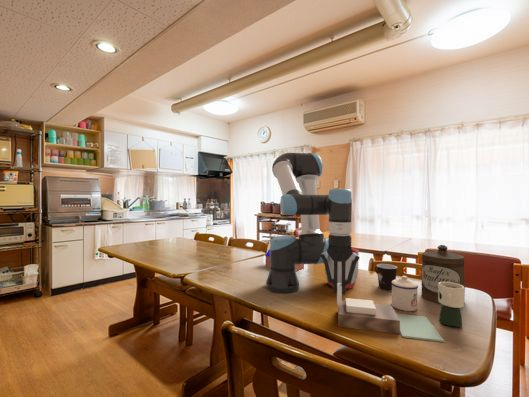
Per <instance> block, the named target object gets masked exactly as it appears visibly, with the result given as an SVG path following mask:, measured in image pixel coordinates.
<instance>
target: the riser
mask: <svg viewBox="0 0 529 397" xmlns="http://www.w3.org/2000/svg"><path fill="white" fill-rule="evenodd" d="M374 305H375V307H376V315H372V314H362V313H353V312H346V300H342V305H337V318H338V319H337V322H338V327H339V328H347V329H348V328H349V329H357V330H363V331H374V332H382V333H389V334H399V335H401V333H400V320H399V318H398V316H397V314H398V313H396V311H395V309H394V307H393V306H392V304H391V305H389V304H381V303H374Z"/></svg>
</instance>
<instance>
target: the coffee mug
mask: <svg viewBox="0 0 529 397" xmlns="http://www.w3.org/2000/svg"><path fill="white" fill-rule="evenodd" d="M374 269H375V273H376V274H377V280H378V281H377V282H378V288H379V289H380V290H383V291H387V292H388V291H390V292H392V284H391V282H392V281H393V280H395V279H397V273H398V272H397V271H398V266H396V265H394V264H388V263H379V264H378V263H377V264H376V265H375V268H374Z"/></svg>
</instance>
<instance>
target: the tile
mask: <svg viewBox="0 0 529 397" xmlns="http://www.w3.org/2000/svg"><path fill="white" fill-rule="evenodd" d="M345 301H346V312H353V313H362V314H372V315H376V307H375V305H374V304H375V303H374V300H370V299H361V298H360V299H359V298H349V297H346V298H345Z"/></svg>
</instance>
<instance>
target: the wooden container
mask: <svg viewBox="0 0 529 397" xmlns="http://www.w3.org/2000/svg"><path fill="white" fill-rule="evenodd" d="M437 249H438V250H437V251H435V250H434V251H432V250H431V251H423V252H422V254H421V260H422V263H421V264H422V266H421V296H422V298H424V299H425V300H427V301H430V302H433V303H436V304H441V303H440V302H438V283H439V282H452V283H457V284H460V285H462V286H464V301H466V300H465V291H466V289H465V288H466V287H465V286H466V285H465V284H466V283H465V282H466V280H465V278H466V277H465V256H463V255H461V254H458V253H455V252H449V251H447V250H448V246H446V245H444V244H440V245H438V246H437ZM441 305H442V304H441Z"/></svg>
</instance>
